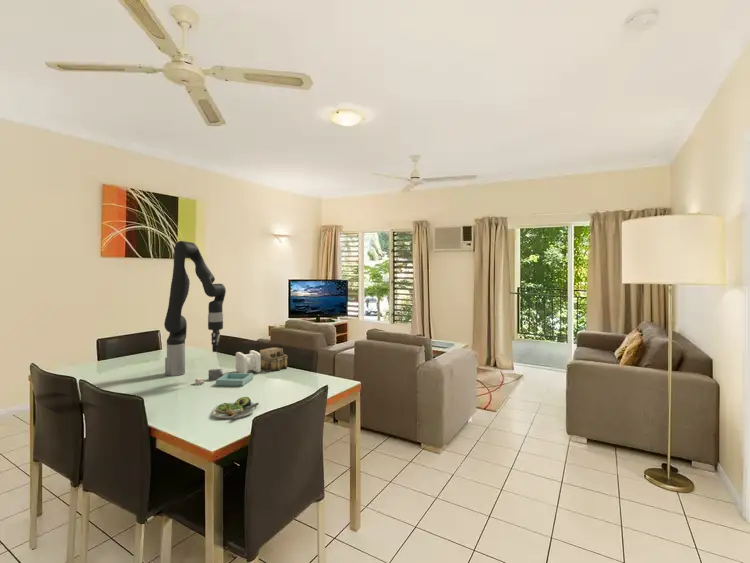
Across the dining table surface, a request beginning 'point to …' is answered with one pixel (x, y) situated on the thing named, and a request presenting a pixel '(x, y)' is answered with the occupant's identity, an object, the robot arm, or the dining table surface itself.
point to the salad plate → (235, 409)
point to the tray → (234, 379)
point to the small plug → (199, 381)
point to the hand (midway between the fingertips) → (215, 350)
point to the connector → (215, 374)
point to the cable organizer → (248, 362)
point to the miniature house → (273, 359)
